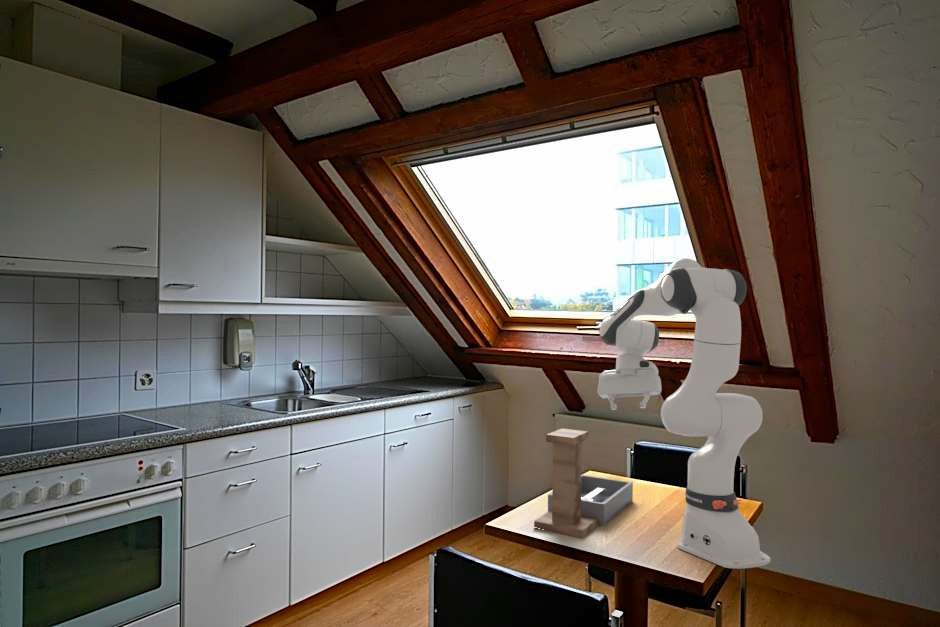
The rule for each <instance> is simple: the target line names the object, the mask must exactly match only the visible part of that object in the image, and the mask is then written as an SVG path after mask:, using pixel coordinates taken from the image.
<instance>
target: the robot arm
mask: <svg viewBox="0 0 940 627" xmlns="http://www.w3.org/2000/svg"><path fill="white" fill-rule="evenodd" d="M747 289H748V288H747V282H746V280H745V278H744V276H743V274H742V273H740V272H739V271H737V270H734V269H733V270H732V269H728V268H724V269H719V268H709V267H708V268H707V267H702V266H701V265H700V263H699V262H697V261H695V260H694V259H692V258H691V259H690V258H680V259H677V260H675V261H674V262H672V263H671V264H670V265H669V266H668V267H667V268H666V269H665V270H664V271H663V272H662V273H661V275H660V276H659V277H658V279H657V280H655V282H654V283H652V284H650V285H648V286H647V287H645V288H641V289H638V290H636V291H634V292H633V293H632V294H630V296H629V297H628V298H627V299H625V300H624V301H623V302H622V304H620V305H619V306H618V307H617V308H616V309H615V310H614V311H613V312H612V313H609V314H608V315H606V316H605V317H604V318H603V319H602V321H601V323H600V327H599V331H598V332H599V337H600V338H601V339H600V340H601V341H603V343H604V344H605V345H606V346H613V347H616V350H617V356H616V357H615V358H616V362H615V369H611V370H603V372H601V373H600V374H599V375H598V385H597V392H596V393H597V394H598V395H599V397H601V399H608V401H609V404H610V410H612V411H615V410H618V404H617V403H616V402H614V400H615V398H627V397H628V398H629V397H643V399H642V401H641V400H640V401H639V408H640V409H647V403H648V401H649V400H650V399H651V398H650V397H651V396H659V395H660V394H661V393H662V390H663V389H662V379H661V378H660V377H661V376H659V369H658V367H657V366H656V364H655V363H654V362H653V361H650V360H646V359H644V355H645V354H648V353H650V352H652V351H653V350H655V349H656V348H657V347H658V346H659V341H660V331H659V327H658V326H657V325H656V323H654V322H651V321H647V320H641V319H638V318H635V317H638V316H645V315H647V316H649V315H650V316H661V317H669V316H670V317H671V316H674V315H677V314H679V313H681V314H684V315H686V314H688V313H689V311H691V312H692V314H693V315H694V318H695V328H694V336H693V337H694V338H693V348H692V349H693V350H692V357H691V363H690V368H689V371H688V373H687V376H686V378H684V381H683V383H682V384H681V385H680V386H679V388H678V389H676V390H675V392H673V393H672V394H670V395H669V396H667V397H666V399H665V400H664V401H663V403H662V404H661V409H660V418H661V421H662V424H663V426H664V428H665V429H666V430H667V431H668V432H669V433H670V434H675V435H678V436H679V435H680V436H684V437H707V440H706V441H705V444H703V445H702V447H699V449H697V450H695V451H694V452H693V453H691V454H690V456H689V458H688V459H687V460H688V461H687V486H686V487H685V493H684V494H685V502H686V506H685V510H684V513H683V517H682V525H681V531H680V532H681V534H680V539H679V541H678V542H677V548H678V549H680V550H681V551H685V552H687V553H689V554H692V555H694V556H696V557H698V558H701V559H703V560H706V561H708V562H711V563H713V564H715V565H718V566H720V567H722V568H725V569H726V568H727V569H736V570H737V569H751V568H758V567H763V566H765V565H769V564H770V563H771V561H772V560H771V557H770V556H769V555H768V554H766V553H764V552H763V551H761V549H760V548H761V547H760V539H759V535H758V533H757V532H756V530H755V528H754V527H753V526H751V524H750V523H749V522H748V520H747V519H746V517H744V515H743V514H742V512H741V511H740V510H739V508H740V507H739V505H741V504H742V503H741V502H742V499H738V498H737V496H736V492H735V491H734V478H735V466H736V462H737V457H738V455H739V452H740V450H741V448H742V446H743V445H744V444H745V442H746V441H748V439H749V437H751V436H752V435H753V434H755V433H756V432H757V431H758V430H759V429H760V427H761V425H762V423H763V422H762V421H763V419H764V418H763V409H762V406H761V404H759V401H758V400H756V398H754V396H750V395H746V394H741V393H734V392H726V393H725V392H718V390H719V388H720V387H721V386H722V385H724V384H725V383H726V382H728V381H730V380H731V379H733V378H734V377H735V376H736V375H737V373H738V371H739V367H740V354H741V344H742V342H741V341H742V319H741V311H740V310H741V309H740V307H739V306H741V305H742V303H743V302H744V301H745V298H746V296H747Z"/></svg>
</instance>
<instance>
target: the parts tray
mask: <svg viewBox="0 0 940 627" xmlns="http://www.w3.org/2000/svg"><path fill="white" fill-rule="evenodd" d="M633 487H634V482H633V481H627V480H626V481H625V480H620V479H619V480H618V479H612V478H605V477H599V476H593V475H585V474H581V497H582V498H583V497H585V496H586V495H587V494H589V493H590V492H592V491H593V490H595V489H596V488H604V489H605V498H604V499H603V500H602V501H600V502H594V501H588V500H583V499H581V515H584V516H589V517H594V518H598V526H602V525H604V526H605V524H606V523H607V522H608V523H609V522H610V521H611V520H613V519H614V518H615V517H616V516H617V515H619V514H620V513H621V512H622V511H623V510H624V509H625V508H627V507H628V506H629V505H630V504H631V503H632V502H634V500H633V497H634V496H633V495H634V494H633V493H634V492H633V490H634V488H633ZM552 493H553V491H552V492H550V493H548V494H547V512H549V511H551V510H552ZM627 505H628V506H627ZM626 506H627V507H626ZM621 510H622V511H621ZM620 511H621V512H620ZM619 512H620V513H619ZM615 515H616V516H615ZM614 516H615V517H614ZM613 517H614V518H613ZM612 518H613V519H612ZM608 523H607V524H608ZM607 524H606V525H607Z"/></svg>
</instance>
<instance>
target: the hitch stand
mask: <svg viewBox="0 0 940 627" xmlns="http://www.w3.org/2000/svg"><path fill="white" fill-rule="evenodd" d="M545 436H546V437H545V442H546V443H552V492H553V493H552V492H551V493H552V510H551V511H549V512H548V511H547V512H546V513H544V514H543V515H541V516H539V517H538V518H537V519H535V520H534V522H533V528H534V527H537V528H540V529H544V530H547V531H546V532H549V531H551V533H556V534H559V533H560V534H561V535H564V534H565V536H569V537H573V536H575V537H574V538H578V537H580V539H584V538H585V537H586V536H587V535H588V534H590V533H591V532H592V531H594V529H596V528H597V527H598V526H599V525H598V518H594V517H589V516H584V515H581V475H582V462H583V461H582V459H583V458H582V457H583V456H582V454H583V453H582V450H583V449H582V448H583V447H582V446H583V442H584V441H586V440H589V430H579V429H571V428H560V429H556V430H553V431H552V432H549V433H547V434H545ZM595 527H596V528H595ZM540 529H539V530H540ZM544 530H543V531H544ZM589 532H590V533H589ZM583 537H584V538H583Z"/></svg>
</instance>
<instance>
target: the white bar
mask: <svg viewBox="0 0 940 627" xmlns="http://www.w3.org/2000/svg"><path fill="white" fill-rule="evenodd" d="M604 498H605V489H604V488H596V489H595V490H593V491H592V492H590V493H589V494H587V495H586V496H585V497H583V498H582V497H581V499H583V500H588V501H594V502H600V501H602V500H603V499H604Z"/></svg>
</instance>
